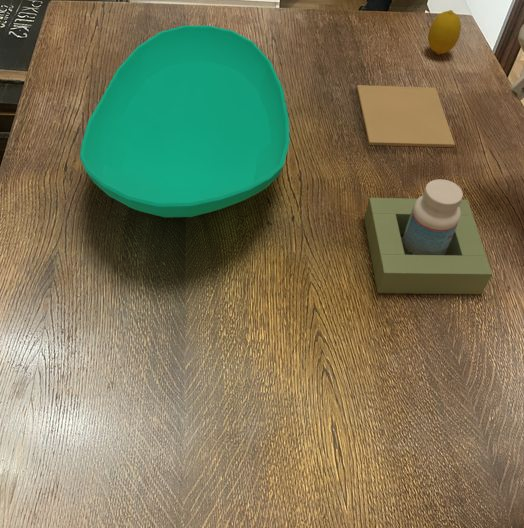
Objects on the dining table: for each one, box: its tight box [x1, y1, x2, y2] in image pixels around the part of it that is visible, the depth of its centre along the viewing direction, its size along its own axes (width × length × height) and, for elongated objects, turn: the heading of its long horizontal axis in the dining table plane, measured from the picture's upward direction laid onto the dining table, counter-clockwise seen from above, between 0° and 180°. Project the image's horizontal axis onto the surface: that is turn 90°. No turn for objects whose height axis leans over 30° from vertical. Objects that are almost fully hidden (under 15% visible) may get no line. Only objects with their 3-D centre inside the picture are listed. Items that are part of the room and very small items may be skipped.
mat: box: [356, 84, 456, 148], centre depth 102 cm, size 14×16×1 cm
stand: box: [363, 197, 493, 295], centre depth 82 cm, size 14×14×4 cm
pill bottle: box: [401, 178, 464, 255], centre depth 79 cm, size 6×6×11 cm
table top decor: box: [79, 24, 291, 218], centre depth 84 cm, size 40×28×13 cm
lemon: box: [427, 9, 462, 56], centre depth 111 cm, size 6×6×8 cm
